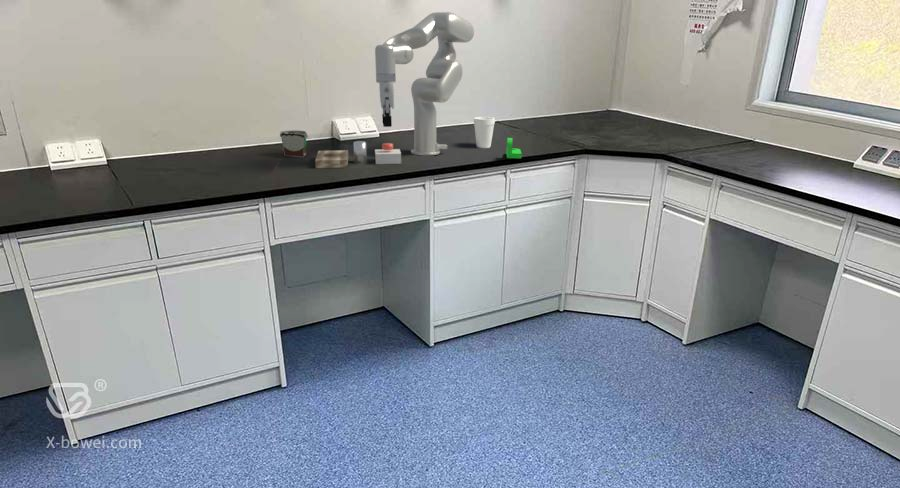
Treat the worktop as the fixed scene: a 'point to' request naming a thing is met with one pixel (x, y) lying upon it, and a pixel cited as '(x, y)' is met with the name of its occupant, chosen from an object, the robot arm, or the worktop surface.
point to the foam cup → (484, 131)
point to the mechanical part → (512, 150)
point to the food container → (294, 143)
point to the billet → (360, 152)
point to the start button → (387, 146)
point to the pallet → (332, 159)
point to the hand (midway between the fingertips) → (387, 124)
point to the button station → (388, 156)
